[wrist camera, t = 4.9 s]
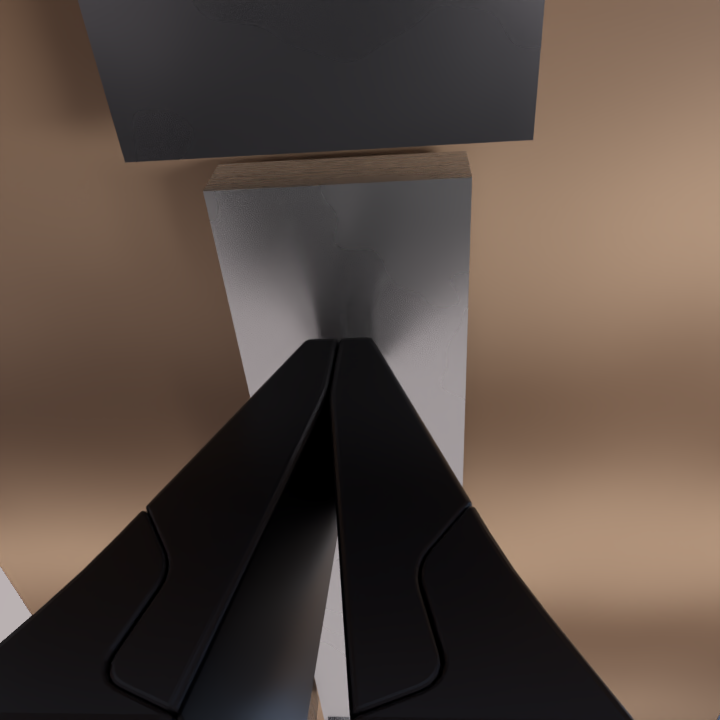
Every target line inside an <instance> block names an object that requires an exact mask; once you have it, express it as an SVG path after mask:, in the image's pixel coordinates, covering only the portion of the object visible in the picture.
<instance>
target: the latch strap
mask: <svg viewBox="0 0 720 720" xmlns="http://www.w3.org/2000/svg"><path fill="white" fill-rule="evenodd" d="M203 193H204V198H205V202H206V206H207V211H208V215H209V220H210V224H211V228H212V233H213V237H214V241H215V246H216V250H217V254H218V259H219V263H220V268H221V272H222V276H223V281H224V285H225V289H226V294H227V298H228V302H229V307H230V311H231V315H232V320H233V324H234V329H235V333H236V337H237V342H238V346H239V350H240V355H241V359H242V363H243V368H244V372H245V376H246V381H247V385H248V390H249V394H250V398H251V397H252V395H253V394H254V393H255V392H256V391H257V390H258V389H259V388H260V387H261V386H262V385H263V384H264V383H265V382H266V381H267V380H268V379H269V378H270V377H271V376H272V375H273V374H274V373H275V372H276V371H277V369H278V368H279V367H280V366H281V365H282V364H283V363H284V362H285V361H286V360H287V359H288V358H289V357H290V356H291V355H292V354H293V353H294V352H295V351H296V350H297V349H298V348H299V347H300V346H301V345H302V343H303V342H305V341H306V340H308V339H329V338H334V339H337V340H338V342H340V340H342V339H343V338H358V337H370V338H372V339H373V340H374V342H375V343H376V345H377V346H378V348H379V350H380V351H381V353H382V355H383V356H384V358H385V360H386V361H387V363H388V365H389V366H390V368H391V370H392V371H393V373H394V375H395V376H396V378H397V380H398V381H399V383H400V384H401V386H402V388H403V389H404V391H405V393H406V394H407V396H408V398H409V399H410V401H411V403H412V404H413V406H414V408H415V409H416V411H417V413H418V414H419V416H420V418H421V419H422V421H423V423H424V424H425V426H426V427H427V429H428V431H429V432H430V434H431V436H432V437H433V439H434V441H435V442H436V444H437V446H438V447H439V449H440V451H441V452H442V454H443V456H444V457H445V459H446V461H447V462H448V464H449V466H450V467H451V469H452V470H453V472H454V474H455V475H456V477H457V479H458V480H459V482H460V484H461V485H462V487H463V459H464V427H465V394H466V361H467V328H468V295H469V262H470V229H471V196H472V175H471V170H470V166H469V161H468V156H467V152H466V151H455V152H436V153H418V154H400V155H381V156H363V157H345V158H326V159H308V160H289V161H271V162H253V163H234V164H218V166H217V168H216V169H215V171H214V173H213V175H212V176H211V178H210V180H209V182H208V183H207V185H206V187H205V189H204V190H203ZM314 677H315V682H316V686H317V690H318V695H319V699H320V703H321V708H322V712H323V717H324V720H350V714H349V699H348V684H347V669H346V655H345V640H344V625H343V610H342V595H341V580H340V566H339V551H338V536H337V542H336V548H335V554H334V560H333V566H332V572H331V578H330V584H329V590H328V597H327V603H326V609H325V615H324V621H323V627H322V633H321V639H320V645H319V651H318V657H317V663H316V669H315V675H314Z"/></svg>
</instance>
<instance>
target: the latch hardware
mask: <svg viewBox="0 0 720 720" xmlns="http://www.w3.org/2000/svg"><path fill="white" fill-rule="evenodd" d="M78 3H79V6H80V10H81V13H82V17H83V20H84V23H85V27H86V30H87V34H88V37H89V41H90V44H91V47H92V51H93V54H94V58H95V61H96V65H97V68H98V71H99V75H100V78H101V82H102V85H103V89H104V92H105V95H106V99H107V102H108V106H109V109H110V113H111V116H112V119H113V123H114V126H115V130H116V133H117V136H118V140H119V143H120V147H121V150H122V154H123V157H124V160H125V163H127V162H145V161H163V160H181V159H200V158H218V157H236V156H254V155H272V154H290V153H308V152H326V151H344V150H362V149H380V148H399V147H417V146H435V145H453V144H471V143H489V142H507V141H525V140H533V137H534V125H535V113H536V101H537V89H538V77H539V65H540V53H541V41H542V29H543V17H544V5H545V0H78ZM318 702H319V698H318V694H317V689H316V685H315V680H314V681H313V687H312V693H311V699H310V705H309V711H308V717H307V720H317V712H318Z"/></svg>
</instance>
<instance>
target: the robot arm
mask: <svg viewBox="0 0 720 720" xmlns="http://www.w3.org/2000/svg"><path fill="white" fill-rule="evenodd" d="M146 511H147V512H146ZM146 511H141V512H140V513H139V514H138V515H137V516H136V517H135V518H134V519H133V520H132V521H131V522H130V523H129V524H128V525H127V526H126V527H125V528H124V529H123V530H122V531H121V532H120V533H119V534H118V535H117V536H116V537H115V538H114V539H113V540H112V541H111V542H110V543H109V544H108V545H107V546H106V547H105V548H104V549H103V550H102V551H101V552H100V553H99V554H98V555H97V556H96V557H95V558H94V559H93V560H92V561H91V562H90V563H89V564H88V565H87V566H86V567H85V568H84V569H83V570H82V571H81V572H80V573H79V574H78V575H76V576H75V577H74V578H73V579H72V580H71V581H70V582H69V583H68V584H67V585H65V586H64V587H63V588H62V589H61V590H60V591H59V592H58V593H57V594H55V595H54V596H53V597H52V598H51V599H50V600H49V601H48V602H47V603H46V604H44V605H43V606H42V607H41V608H40V609H39V610H38V611H37V612H35V613H34V614H33V615H32V616H31V617H30V618H29V619H27V620H26V621H25V622H24V623H23V624H22V625H21V626H19V627H18V628H17V629H16V630H15V631H14V632H13V633H11V634H10V635H9V636H8V637H7V638H6V639H4V640H3V641H2V642H1V643H0V720H307V717H308V711H309V705H310V699H311V693H312V687H313V681H314V675H315V669H316V663H317V657H318V651H319V645H320V639H321V633H322V627H323V621H324V615H325V609H326V603H327V597H328V590H329V584H330V578H331V572H332V566H333V560H334V554H335V548H336V542H337V536H338V551H339V566H340V580H341V595H342V610H343V625H344V640H345V655H346V669H347V684H348V699H349V714H350V720H634V719H633V717H632V716H631V715H630V714H629V712H628V711H627V710H626V709H625V707H624V706H623V705H622V704H621V703H620V701H619V700H618V699H617V698H616V696H615V695H614V694H613V693H612V691H611V690H610V689H609V688H608V686H607V685H606V684H605V683H604V682H603V680H602V679H601V678H600V677H599V675H598V674H597V673H596V672H595V670H594V669H593V668H592V667H591V665H590V664H589V663H588V662H587V661H586V659H585V658H584V657H583V656H582V654H581V653H580V652H579V651H578V649H577V648H576V647H575V646H574V644H573V643H572V642H571V641H570V640H569V638H568V637H567V636H566V635H565V633H564V632H563V631H562V630H561V628H560V627H559V626H558V625H557V623H556V622H555V621H554V620H553V619H552V617H551V616H550V615H549V614H548V612H547V611H546V610H545V609H544V607H543V606H542V605H541V603H540V602H539V601H538V599H537V598H536V597H535V595H534V594H533V593H532V591H531V590H530V589H529V587H528V586H527V585H526V584H525V582H524V581H523V580H522V578H521V577H520V576H519V574H518V573H517V572H516V570H515V569H514V567H513V566H512V564H511V563H510V561H509V560H508V558H507V557H506V555H505V554H504V552H503V551H502V549H501V548H500V546H499V545H498V543H497V542H496V540H495V539H494V537H493V536H492V534H491V533H490V531H489V529H488V528H487V526H486V524H485V523H484V521H483V519H482V518H481V516H480V514H479V513H478V511H477V509H476V508H475V507H472V502H471V500H470V499H469V497H468V495H467V494H466V492H465V490H464V489H463V487H462V485H461V484H460V482H459V480H458V479H457V477H456V475H455V474H454V472H453V470H452V469H451V467H450V466H449V464H448V462H447V461H446V459H445V457H444V456H443V454H442V452H441V451H440V449H439V447H438V446H437V444H436V442H435V441H434V439H433V437H432V436H431V434H430V432H429V431H428V429H427V427H426V426H425V424H424V423H423V421H422V419H421V418H420V416H419V414H418V413H417V411H416V409H415V408H414V406H413V404H412V403H411V401H410V399H409V398H408V396H407V394H406V393H405V391H404V389H403V388H402V386H401V384H400V383H399V381H398V380H397V378H396V376H395V375H394V373H393V371H392V370H391V368H390V366H389V365H388V363H387V361H386V360H385V358H384V356H383V355H382V353H381V351H380V350H379V348H378V346H377V345H376V343H375V342H374V340H373V339H372V338H370V337H358V338H343V339H342V340H340V342H338V340H337V339H334V338H329V339H308V340H306V341H305V342H303V343H302V345H301V346H300V347H299V348H298V349H297V350H296V351H295V352H294V353H293V354H292V355H291V356H290V357H289V358H288V359H287V360H286V361H285V362H284V363H283V364H282V365H281V366H280V367H279V368H278V369H277V371H276V372H275V373H274V374H273V375H272V376H271V377H270V378H269V379H268V380H267V381H266V382H265V383H264V384H263V385H262V386H261V387H260V388H259V389H258V390H257V391H256V392H255V393H254V394H253V395H252V397H251V398H250V399H249V400H248V401H247V402H246V403H245V404H244V405H243V406H242V407H241V408H240V409H239V410H238V411H237V412H236V413H235V414H234V415H233V416H232V417H231V418H230V419H229V420H228V421H227V423H226V424H225V425H224V426H223V427H222V428H221V429H220V430H219V431H218V432H217V433H216V434H215V435H214V436H213V437H212V438H211V439H210V440H209V441H208V442H207V443H206V444H205V445H204V446H203V447H202V449H201V450H200V451H199V452H198V453H197V454H196V455H195V456H194V457H193V458H192V459H191V460H190V461H189V462H188V463H187V464H186V465H185V466H184V467H183V468H182V469H181V470H180V471H179V472H178V473H177V475H176V476H175V477H174V478H173V479H172V480H171V481H170V482H169V483H168V484H167V485H166V486H165V487H164V488H163V489H162V490H161V491H160V492H159V493H158V494H157V495H156V496H155V497H154V498H153V500H152V501H151V502H150V503H149V504H148V505H147V506H146Z"/></svg>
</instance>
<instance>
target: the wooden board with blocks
mask: <svg viewBox="0 0 720 720" xmlns="http://www.w3.org/2000/svg"><path fill="white" fill-rule="evenodd" d="M455 151H466V152H467V156H468V161H469V166H470V170H471V175H472V196H471V229H470V262H469V295H468V328H467V361H466V394H465V427H464V459H463V489H464V490H465V492H466V494H467V495H468V497H469V499H470V500H471V502H472V507H475V508H476V509H477V511H478V513H479V514H480V516H481V518H482V519H483V521H484V523H485V524H486V526H487V528H488V529H489V531H490V533H491V534H492V536H493V537H494V539H495V540H496V542H497V543H498V545H499V546H500V548H501V549H502V551H503V552H504V554H505V555H506V557H507V558H508V560H509V561H510V563H511V564H512V566H513V567H514V569H515V570H516V572H517V573H518V574H519V576H520V577H521V578H522V580H523V581H524V582H525V584H526V585H527V586H528V587H529V589H530V590H531V591H532V593H533V594H534V595H535V597H536V598H537V599H538V601H539V602H540V603H541V605H542V606H543V607H544V609H545V610H546V611H547V612H548V614H549V615H550V616H551V617H552V619H553V620H554V621H555V622H556V623H557V625H558V626H559V627H560V628H561V630H562V631H563V632H564V633H565V635H566V636H567V637H568V638H569V640H570V641H571V642H572V643H573V644H574V646H575V647H576V648H577V649H578V651H579V652H580V653H581V654H582V656H583V657H584V658H585V659H586V661H587V662H588V663H589V664H590V665H591V667H592V668H593V669H594V670H595V672H596V673H597V674H598V675H599V677H600V678H601V679H602V680H603V682H604V683H605V684H606V685H607V686H608V688H609V689H610V690H611V691H612V693H613V694H614V695H615V696H616V698H617V699H618V700H619V701H620V703H621V704H622V705H623V706H624V707H625V709H626V710H627V711H628V712H629V714H630V715H631V716H632V717H633V719H634V720H717V718H718V716H719V714H720V0H545V5H544V17H543V29H542V41H541V53H540V65H539V77H538V89H537V101H536V113H535V125H534V137H533V140H525V141H507V142H489V143H471V144H453V145H435V146H417V147H399V148H380V149H362V150H344V151H326V152H308V153H290V154H272V155H254V156H236V157H218V158H200V159H181V160H163V161H145V162H127V163H125V160H124V157H123V154H122V150H121V147H120V143H119V140H118V136H117V133H116V130H115V126H114V123H113V119H112V116H111V113H110V109H109V106H108V102H107V99H106V95H105V92H104V89H103V85H102V82H101V78H100V75H99V71H98V68H97V65H96V61H95V58H94V54H93V51H92V47H91V44H90V41H89V37H88V34H87V30H86V27H85V23H84V20H83V17H82V13H81V10H80V6H79V3H78V0H0V567H1V568H2V569H3V571H4V572H5V574H6V576H7V577H8V579H9V580H10V582H11V584H12V585H13V587H14V588H15V590H16V591H17V593H18V594H19V596H20V597H21V599H22V600H23V602H24V604H25V605H26V606H27V608H28V610H29V611H30V613H31V614H32V615H33V614H34V613H35V612H37V611H38V610H39V609H40V608H41V607H42V606H43V605H44V604H46V603H47V602H48V601H49V600H50V599H51V598H52V597H53V596H54V595H55V594H57V593H58V592H59V591H60V590H61V589H62V588H63V587H64V586H65V585H67V584H68V583H69V582H70V581H71V580H72V579H73V578H74V577H75V576H76V575H78V574H79V573H80V572H81V571H82V570H83V569H84V568H85V567H86V566H87V565H88V564H89V563H90V562H91V561H92V560H93V559H94V558H95V557H96V556H97V555H98V554H99V553H100V552H101V551H102V550H103V549H104V548H105V547H106V546H107V545H108V544H109V543H110V542H111V541H112V540H113V539H114V538H115V537H116V536H117V535H118V534H119V533H120V532H121V531H122V530H123V529H124V528H125V527H126V526H127V525H128V524H129V523H130V522H131V521H132V520H133V519H134V518H135V517H136V516H137V515H138V514H139V513H140V512H141V511H146V506H147V505H148V504H149V503H150V502H151V501H152V500H153V498H154V497H155V496H156V495H157V494H158V493H159V492H160V491H161V490H162V489H163V488H164V487H165V486H166V485H167V484H168V483H169V482H170V481H171V480H172V479H173V478H174V477H175V476H176V475H177V473H178V472H179V471H180V470H181V469H182V468H183V467H184V466H185V465H186V464H187V463H188V462H189V461H190V460H191V459H192V458H193V457H194V456H195V455H196V454H197V453H198V452H199V451H200V450H201V449H202V447H203V446H204V445H205V444H206V443H207V442H208V441H209V440H210V439H211V438H212V437H213V436H214V435H215V434H216V433H217V432H218V431H219V430H220V429H221V428H222V427H223V426H224V425H225V424H226V423H227V421H228V420H229V419H230V418H231V417H232V416H233V415H234V414H235V413H236V412H237V411H238V410H239V409H240V408H241V407H242V406H243V405H244V404H245V403H246V402H247V401H248V400H249V399H250V394H249V390H248V385H247V381H246V376H245V372H244V368H243V363H242V359H241V355H240V350H239V346H238V342H237V337H236V333H235V329H234V324H233V320H232V315H231V311H230V307H229V302H228V298H227V294H226V289H225V285H224V281H223V276H222V272H221V268H220V263H219V259H218V254H217V250H216V246H215V241H214V237H213V233H212V228H211V224H210V220H209V215H208V211H207V206H206V202H205V198H204V193H203V190H204V189H205V187H206V185H207V183H208V182H209V180H210V178H211V176H212V175H213V173H214V171H215V169H216V168H217V166H218V164H234V163H253V162H271V161H289V160H308V159H326V158H345V157H363V156H381V155H400V154H418V153H436V152H455ZM146 512H147V511H146ZM314 680H315V677H314ZM315 685H316V682H315ZM316 689H317V686H316ZM317 694H318V690H317ZM318 698H319V695H318ZM317 720H324V717H323V712H322V708H321V703H320V699H319V702H318V712H317Z"/></svg>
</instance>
